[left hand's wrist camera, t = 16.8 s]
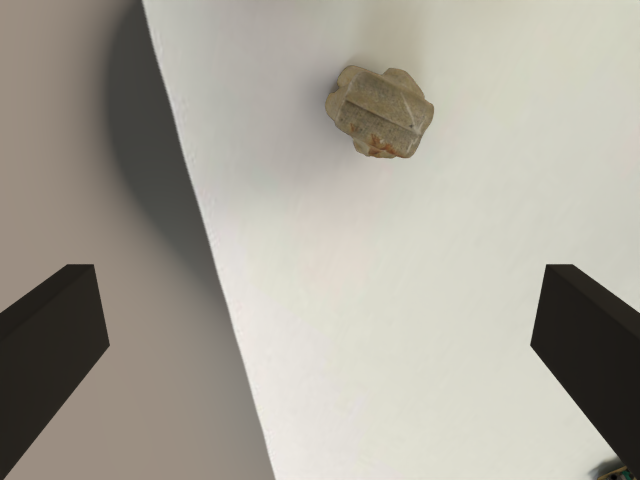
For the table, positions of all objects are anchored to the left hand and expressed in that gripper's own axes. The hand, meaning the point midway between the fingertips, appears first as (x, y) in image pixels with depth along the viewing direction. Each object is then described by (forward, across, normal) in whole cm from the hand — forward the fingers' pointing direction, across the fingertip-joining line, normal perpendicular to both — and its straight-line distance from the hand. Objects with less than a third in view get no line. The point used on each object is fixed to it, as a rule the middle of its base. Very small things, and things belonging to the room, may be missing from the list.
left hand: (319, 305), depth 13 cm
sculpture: (+28, +4, +4) cm, 28 cm away
